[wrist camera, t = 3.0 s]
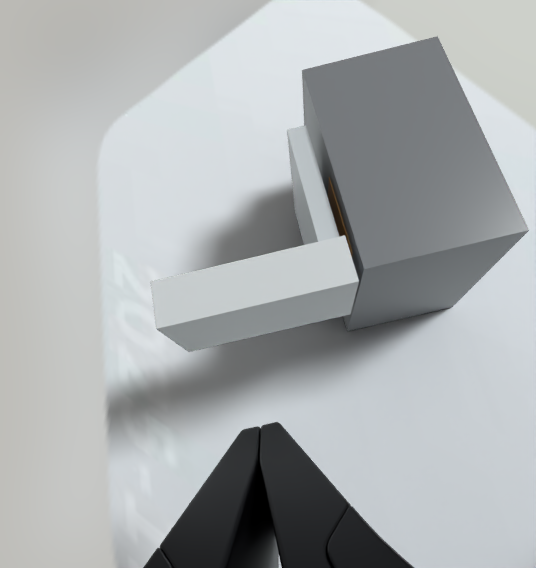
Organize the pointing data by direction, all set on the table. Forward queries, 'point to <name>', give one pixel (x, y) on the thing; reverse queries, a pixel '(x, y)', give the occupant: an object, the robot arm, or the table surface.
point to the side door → (266, 275)
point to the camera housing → (407, 180)
